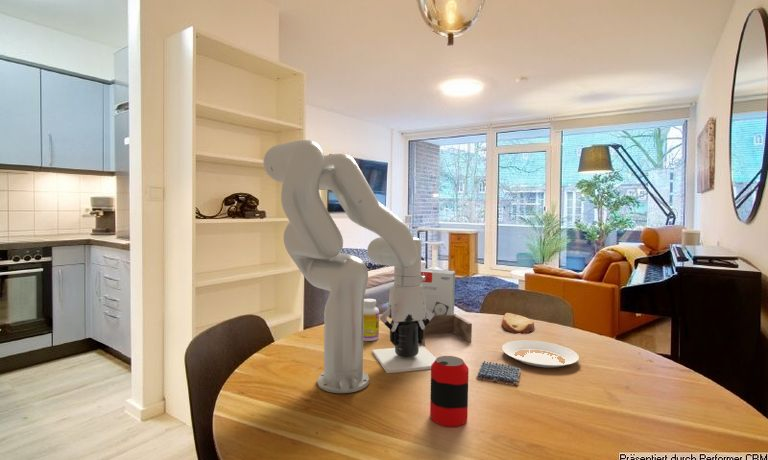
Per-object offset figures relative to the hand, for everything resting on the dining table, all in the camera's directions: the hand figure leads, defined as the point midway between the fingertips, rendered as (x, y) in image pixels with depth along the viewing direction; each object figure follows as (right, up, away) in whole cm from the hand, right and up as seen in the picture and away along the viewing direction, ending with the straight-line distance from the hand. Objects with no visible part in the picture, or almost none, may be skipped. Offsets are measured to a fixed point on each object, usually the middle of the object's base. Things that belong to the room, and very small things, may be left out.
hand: (406, 342), depth 116 cm
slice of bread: (+43, -4, +37) cm, 57 cm away
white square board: (0, -5, 0) cm, 5 cm away
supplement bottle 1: (-11, -4, +19) cm, 22 cm away
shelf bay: (+12, -4, +20) cm, 23 cm away
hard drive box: (+12, -3, +39) cm, 41 cm away
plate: (+39, -6, +3) cm, 39 cm away
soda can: (+7, -7, -32) cm, 33 cm away
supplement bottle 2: (0, -3, 0) cm, 3 cm away
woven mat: (+23, -6, -10) cm, 26 cm away
